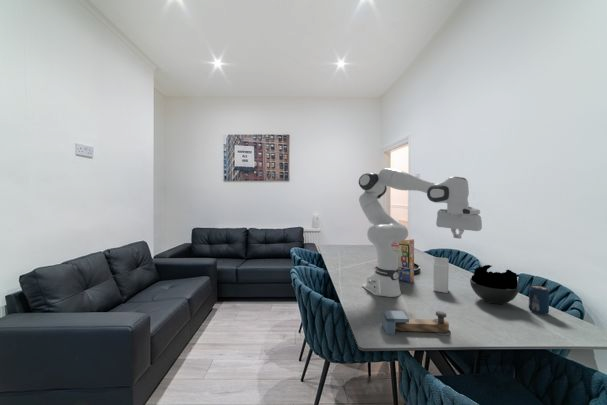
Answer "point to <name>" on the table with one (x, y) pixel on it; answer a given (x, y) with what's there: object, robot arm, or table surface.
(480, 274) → the bowl of black rocks
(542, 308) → the soda can
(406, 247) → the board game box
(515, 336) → the table surface
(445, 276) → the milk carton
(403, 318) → the keeper
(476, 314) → the table surface
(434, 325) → the link
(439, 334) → the pin washer
